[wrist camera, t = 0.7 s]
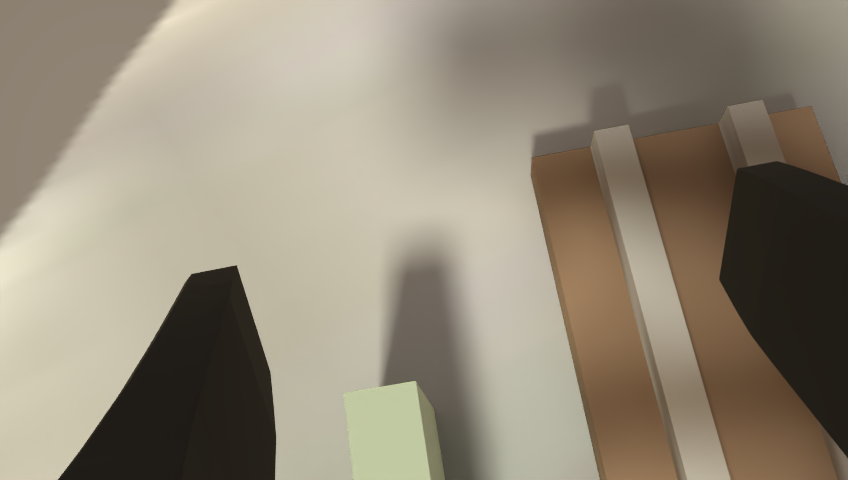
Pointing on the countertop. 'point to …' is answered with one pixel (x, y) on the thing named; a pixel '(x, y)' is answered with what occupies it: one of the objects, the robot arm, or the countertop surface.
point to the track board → (675, 302)
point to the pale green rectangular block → (393, 434)
